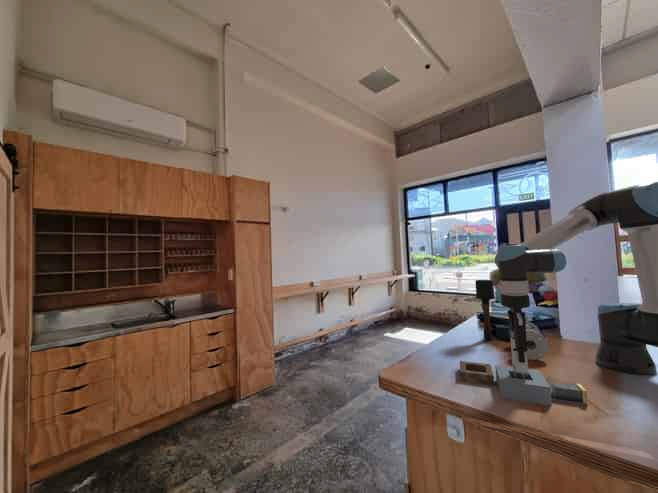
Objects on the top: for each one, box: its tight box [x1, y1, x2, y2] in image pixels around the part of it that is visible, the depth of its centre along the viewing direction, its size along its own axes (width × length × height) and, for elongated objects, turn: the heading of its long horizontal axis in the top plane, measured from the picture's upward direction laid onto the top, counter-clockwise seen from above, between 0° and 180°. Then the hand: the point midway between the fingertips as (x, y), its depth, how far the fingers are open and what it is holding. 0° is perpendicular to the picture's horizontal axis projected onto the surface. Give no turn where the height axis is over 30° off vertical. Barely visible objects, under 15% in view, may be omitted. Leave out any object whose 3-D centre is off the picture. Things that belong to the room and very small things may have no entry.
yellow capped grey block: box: [551, 382, 588, 406], centre depth 79 cm, size 7×4×4 cm, turn 65°
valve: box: [508, 311, 550, 361], centre depth 120 cm, size 22×12×15 cm, turn 151°
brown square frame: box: [459, 360, 495, 386], centre depth 95 cm, size 10×10×4 cm
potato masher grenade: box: [475, 279, 496, 342], centre depth 137 cm, size 8×9×30 cm
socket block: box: [495, 365, 585, 407], centre depth 82 cm, size 20×12×6 cm, turn 65°
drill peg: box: [509, 331, 529, 380], centre depth 84 cm, size 4×4×18 cm
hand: (520, 368), depth 84 cm, fingers closed on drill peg, 4 cm apart
